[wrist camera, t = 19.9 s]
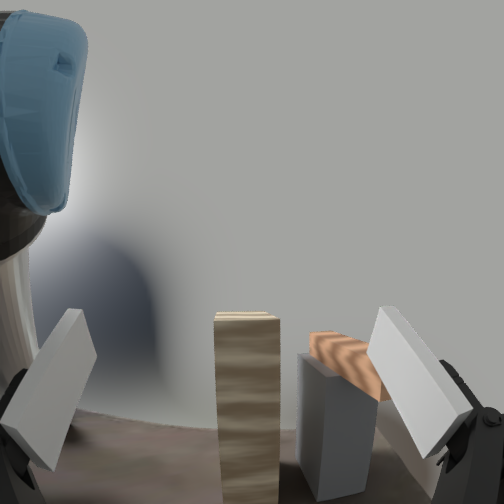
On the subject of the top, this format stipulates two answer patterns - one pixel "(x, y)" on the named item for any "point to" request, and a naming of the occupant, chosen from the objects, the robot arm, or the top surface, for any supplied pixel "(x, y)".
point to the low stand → (332, 430)
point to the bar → (348, 361)
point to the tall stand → (248, 405)
